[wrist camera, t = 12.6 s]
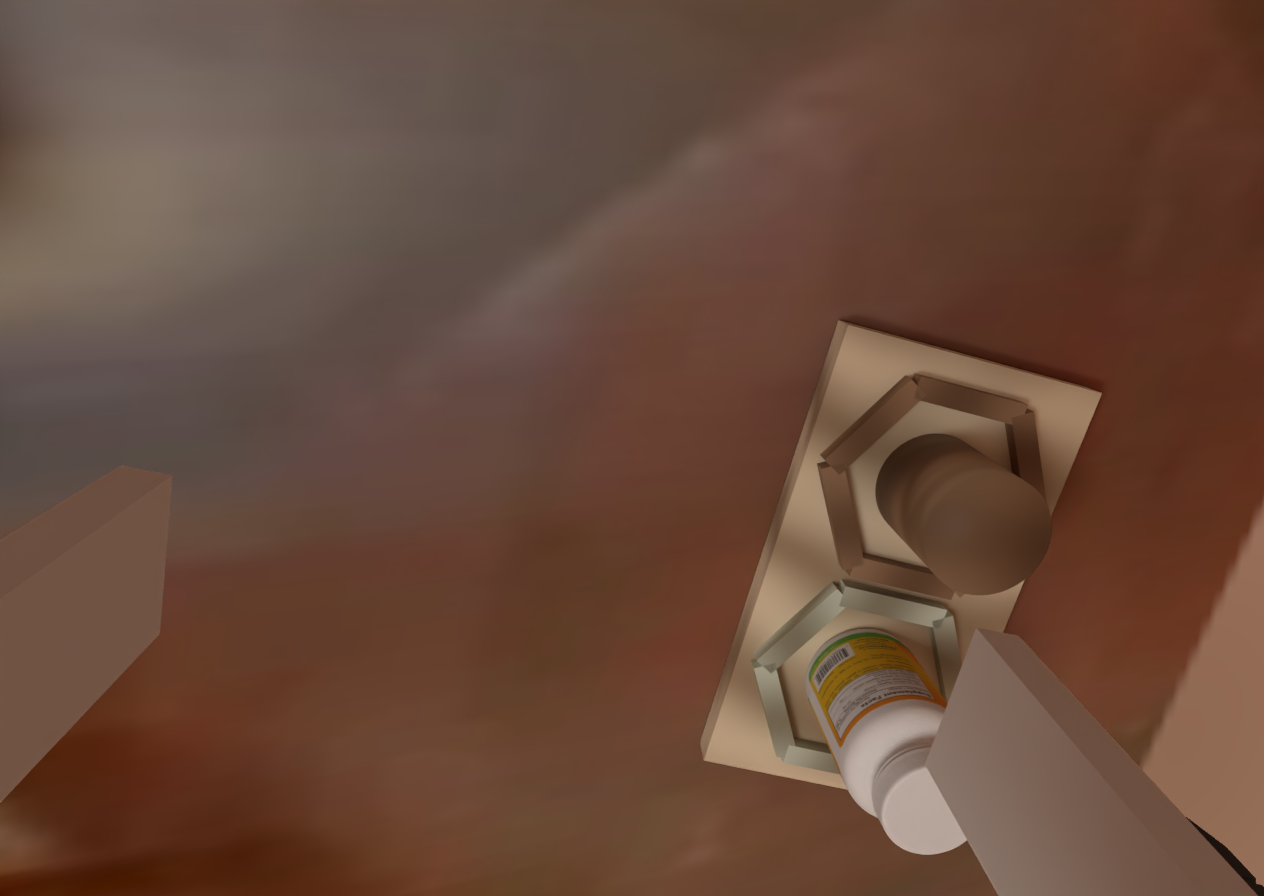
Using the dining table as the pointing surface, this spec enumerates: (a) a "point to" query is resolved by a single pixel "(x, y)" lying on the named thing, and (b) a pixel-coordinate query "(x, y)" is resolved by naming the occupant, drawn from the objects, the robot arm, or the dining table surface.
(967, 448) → the walnut dowel stub
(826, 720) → the supplement bottle
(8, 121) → the dining table surface
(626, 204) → the dining table surface
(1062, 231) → the dining table surface
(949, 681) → the board
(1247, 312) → the dining table surface
